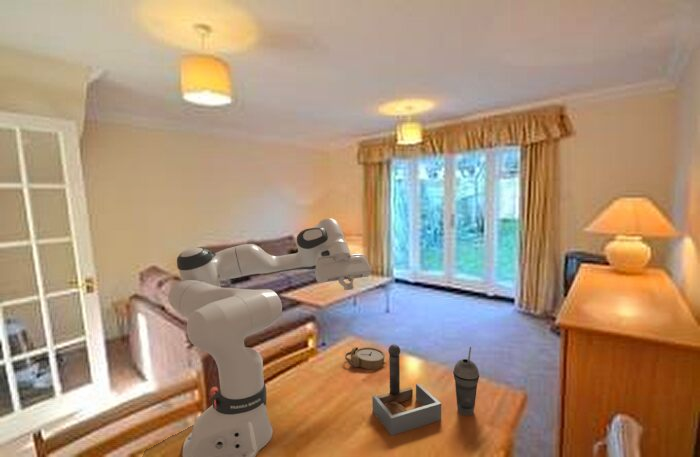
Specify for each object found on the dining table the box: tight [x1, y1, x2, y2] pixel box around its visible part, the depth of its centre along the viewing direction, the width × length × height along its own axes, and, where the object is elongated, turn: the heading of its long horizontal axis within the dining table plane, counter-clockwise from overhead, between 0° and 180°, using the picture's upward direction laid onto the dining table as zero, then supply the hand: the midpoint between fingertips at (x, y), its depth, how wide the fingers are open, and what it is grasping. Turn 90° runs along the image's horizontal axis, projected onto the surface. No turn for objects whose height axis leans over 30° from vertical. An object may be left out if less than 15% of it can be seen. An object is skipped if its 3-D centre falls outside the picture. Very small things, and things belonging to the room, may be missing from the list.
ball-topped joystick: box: [376, 344, 414, 404], centre depth 109 cm, size 12×4×18 cm, turn 112°
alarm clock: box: [344, 346, 386, 370], centre depth 136 cm, size 11×5×15 cm
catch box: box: [371, 383, 442, 436], centre depth 104 cm, size 16×12×5 cm
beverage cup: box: [452, 346, 480, 417], centre depth 104 cm, size 7×7×20 cm
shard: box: [384, 402, 408, 415], centre depth 103 cm, size 11×8×2 cm
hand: (349, 289), depth 123 cm, fingers closed
